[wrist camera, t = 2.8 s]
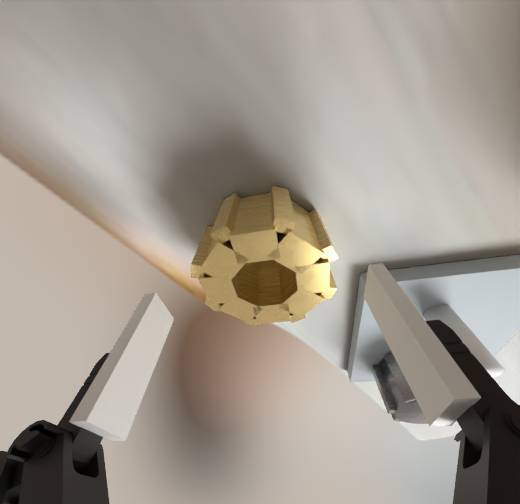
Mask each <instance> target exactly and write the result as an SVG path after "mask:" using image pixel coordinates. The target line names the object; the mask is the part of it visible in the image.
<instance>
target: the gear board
mask: <svg viewBox="0 0 520 504" xmlns="http://www.w3.org/2000/svg"><path fill="white" fill-rule="evenodd" d="M388 271H389V272H390V274H391V275H392V276H393V278H394V279H395V280H396V282H397V283H398V285H399V286H400V287H401V289H402V290H403V291H404V293H405V294H406V295H407V297H408V298H409V300H410V301H411V302H412V304H413V305H414V306H415V308H416V309H417V310H418V312H419V313H420V315H421V316H422V317H423V319H424V320H425V321H430V320H440V321H442V322H443V323H445V324H446V325H447V326H449V327H450V328H451V329H453V331H454V332H455V333H456V334H457V335H458V337H459V338H460V339H461V340H462V343H463V344H465V345H466V346H467V347H468V349H469V350H470V352H471V354H473V355H474V356H475V357H476V358H477V360H478V361H479V362H480V363H481V364H482V366H483V367H484V368H485V369H486V370H487V372H488V373H489V374H490V375H491V377H492V378H494V377H497V376H499V375H501V374H502V373H503V372H504V371H505V369H504V368H503V367H502V366H501V364H500V363H499V362H498V361H497V360H496V359H495V358H494V356H495V355H496V354H497V353H498V352H499V351H500V350H501V349H502V348H503V347H504V346H505V345H506V344H507V342H508V341H509V340H510V339H511V338H512V337H513V336H514V335H515V334H516V333H517V332H518V331H519V330H520V254H519V255H510V256H502V257H493V258H485V259H476V260H468V261H459V262H451V263H442V264H434V265H425V266H417V267H408V268H400V269H391V270H388ZM366 278H367V272H366V273H360V280H359V287H358V295H357V302H356V309H355V317H354V324H353V332H352V339H351V347H350V354H349V362H348V369H347V372H348V375H349V379H350V382H363V381H376V380H375V378H374V375H373V372H372V367H373V366H378V364H379V362H380V361H381V360H383V359H384V358H385V357H384V356H386V355H388V354H390V353H392V351H391V349H390V348H389V346H388V344H387V342H386V340H385V338H384V336H383V334H382V332H381V330H380V328H379V326H378V324H377V322H376V320H375V318H374V316H373V314H372V312H371V310H370V308H369V307H368V305H367V303H366V301H365V299H364V291H365V285H366Z"/></svg>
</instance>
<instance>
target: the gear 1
mask: <svg viewBox="0 0 520 504" xmlns="http://www.w3.org/2000/svg"><path fill="white" fill-rule="evenodd" d="M336 259H338V256H337V254H336V251H335V249H334V247H333V245H332V242H331V240H330V238H329V235H328V233H327V231H326V229H325V226H324V224H323V222H322V220H321V218H320V216H319V214H318V212H317V210H316V209H314V210H312V211H310V212H308V211H306V210H305V209H303V208H302V207H300V206H299V205H298V204H296V203H295V202H293V201H292V200H290V196H289V191H288V189H286V188H281V187H277V186H272V189H271V193H266V194H260V195H254V196H249V197H243V198H240V197H239V196H238V195H237V193H236V192H235V193H234V194H232V195H231V196H229V197H227V198H226V199H224V200H223V202H222V205H221V208H220V210H219V213H218V215H217V218H216V220H215V223H214V226H213V227H211V226H207V229H206V231H205V233H204V236H203V238H202V240H201V242H200V245H199V247H198V249H197V252H196V254H195V256H194V259H193V261H192V263H191V277H192V278H199V281H200V283H201V285H202V287H203V289H204V291H205V293H206V295H207V297H206V301H205V304H206V305H207V306H209V307H210V308H211V309H212V310H214V311H217V310H219V311H222V312H224V313H226V314H229V315H231V316H234V317H236V318H239V319H241V320H243V321H245V324H250V325H257V326H259V324H261V323H272V322H283V321H291V322H295V321H298V320H301V319H304V318H305V315H304V314H305V313H307V312H308V311H309V310H311V309H312V308H313V307H315V306H316V305H317V304H319V303H320V302H322V301H323V300H324V299H329V300H330V299H331V298H332V296H333V295H334V293H335V292H336V290H337V287H336V284H335V281H334V279H333V276H332V273H331V271H330V262H331V261H334V260H336Z"/></svg>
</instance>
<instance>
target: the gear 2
mask: <svg viewBox="0 0 520 504" xmlns="http://www.w3.org/2000/svg"><path fill="white" fill-rule="evenodd" d="M384 357H385V358H384V359H383V360H381V361H380V362H379V364H378V366H373V367H372V372H373V375H374V378H375V380H376V383H377V386H378V388H379V391H380V393H381V396H382V399H383V401H384V404H385V406H386V409H387V412H388V413H391V415H392V417H393V420H396V421H399V422H400V421H403V422H407V423H415V424H428V422H427V420H426V418H425V416H424V414H423V412H422V410H421V408H420V406H419V404H418V402H417V400H416V398H415V396H414V394H413V392H412V391H411V389H410V387H409V385H408V383H407V381H406V379H405V377H404V375H403V373H402V371H401V369H400V367H399V365H398V363H397V361H396V359H395V357H394V355H393V353H390V354H388V355H386V356H384Z"/></svg>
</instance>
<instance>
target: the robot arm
mask: <svg viewBox="0 0 520 504" xmlns="http://www.w3.org/2000/svg"><path fill="white" fill-rule="evenodd" d="M364 299H365V301H366V303H367V305H368V307H369V308H370V310H371V312H372V314H373V316H374V318H375V320H376V322H377V324H378V326H379V328H380V330H381V332H382V334H383V336H384V338H385V340H386V342H387V344H388V346H389V348H390V349H391V351H392V353H393V355H394V357H395V359H396V361H397V363H398V365H399V367H400V369H401V371H402V373H403V375H404V377H405V379H406V381H407V383H408V385H409V387H410V389H411V391H412V392H413V394H414V396H415V398H416V400H417V402H418V404H419V406H420V408H421V410H422V412H423V414H424V416H425V418H426V420H427V422H428V424H429V426H450V425H452V424H453V423H454V422H455V421H456V420H457V422H458V423H459V425H460V427H461V428H462V430H461V431H460V432H459V433H458V434H456V437H455V439H454V440H456V441H457V442H458V441H460V450H459V458H458V465H457V474H456V482H455V490H454V499H453V504H520V405H518V404H516V403H515V402H514V401H513V400H512V399H510V398H509V396H508V395H507V394H506V393H505V392H504V391H503V390H502V389H501V387H500V386H499V385H498V384H497V383H496V381H495V380H494V379H493V378H492V377H491V375H490V374H489V373H488V372H487V370H486V369H485V368H484V367H483V366H482V364H481V363H480V362H479V361H478V360H477V358H476V357H475V356H474V355H473V354H471V352H470V350H469V349H468V347H467V346H466V345H465V344H463V343H462V340H461V339H460V338H459V337H458V335H457V334H456V333H455V332H454V331H453V329H451V328H450V327H449V326H447V325H446V324H445V323H443V322H442V321H440V320H430V321H425V320H424V319H423V317H422V316H421V315H420V313H419V312H418V310H417V309H416V308H415V306H414V305H413V304H412V302H411V301H410V300H409V298H408V297H407V295H406V294H405V293H404V291H403V290H402V289H401V287H400V286H399V285H398V283H397V282H396V280H395V279H394V278H393V276H392V275H391V274H390V272H389V271H388V270H387V268H386V267H385V265H384V264H383V263H378V264H370V265H368V272H367V278H366V285H365V291H364ZM173 320H174V318H173V317H172V316H171V314H170V313H169V311H168V310H167V308H166V307H165V305H164V304H163V303H162V301H161V300H160V298H159V297H158V295H157V294H156V293H152V294H145V295H144V297H143V298H142V300H141V302H140V303H139V305H138V307H137V309H136V310H135V312H134V314H133V315H132V317H131V319H130V320H129V322H128V324H127V325H126V327H125V329H124V330H123V332H122V334H121V335H120V337H119V339H118V340H117V342H116V344H115V345H114V347H113V349H112V350H111V352H110V353H106V354H105V355H104V356H103V357H102V358H101V359H100V360H99V362H97V363H96V365H95V366H94V368H93V370H92V371H91V373H90V376H89V377H88V378H87V379H86V381H85V383H84V386H82V387H81V389H80V390H79V392H78V394H77V396H76V397H75V399H74V400H73V402H72V403H71V405H70V407H69V408H68V410H67V411H66V413H65V415H64V416H63V418H62V419H61V421H60V422H59V424H58V425H54V424H52V423H49V422H47V421H45V420H41V421H37V422H35V423H33V424H32V425H30V426H29V427H27V428H26V429H25V430H24V431H23V432H22V433H21V434H20V435H19V436H18V437H17V438H16V439H15V440H14V442H13V443H12V445H11V447H10V448H9V450H8V452H4V451H0V504H109V497H108V488H107V480H106V471H105V462H104V453H103V447H102V445H101V444H100V443H101V440H102V438H105V439H108V440H110V441H123V440H126V438H127V435H128V433H129V431H130V428H131V426H132V423H133V421H134V418H135V416H136V413H137V411H138V408H139V406H140V403H141V400H142V398H143V395H144V393H145V390H146V388H147V385H148V383H149V380H150V378H151V375H152V373H153V370H154V368H155V365H156V363H157V360H158V358H159V355H160V353H161V350H162V348H163V345H164V343H165V340H166V338H167V335H168V333H169V330H170V328H171V325H172V322H173Z"/></svg>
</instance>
